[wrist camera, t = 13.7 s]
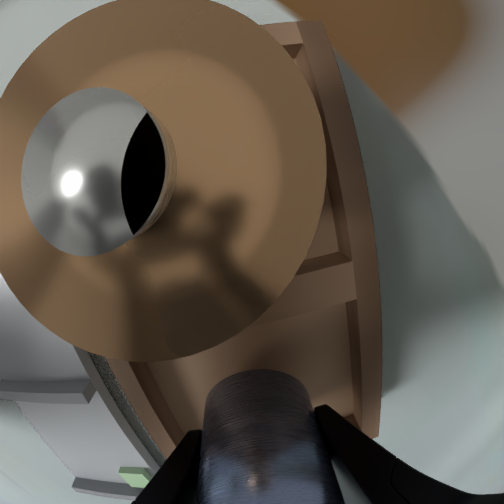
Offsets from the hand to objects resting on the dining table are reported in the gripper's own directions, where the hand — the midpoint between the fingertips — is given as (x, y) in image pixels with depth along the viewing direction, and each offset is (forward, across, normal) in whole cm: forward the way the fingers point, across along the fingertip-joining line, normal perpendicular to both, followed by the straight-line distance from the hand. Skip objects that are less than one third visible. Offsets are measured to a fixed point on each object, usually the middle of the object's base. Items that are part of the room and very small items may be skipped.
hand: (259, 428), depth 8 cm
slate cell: (+1, 0, 0) cm, 1 cm away
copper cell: (+2, 0, -8) cm, 8 cm away
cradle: (+4, +10, -1) cm, 11 cm away
